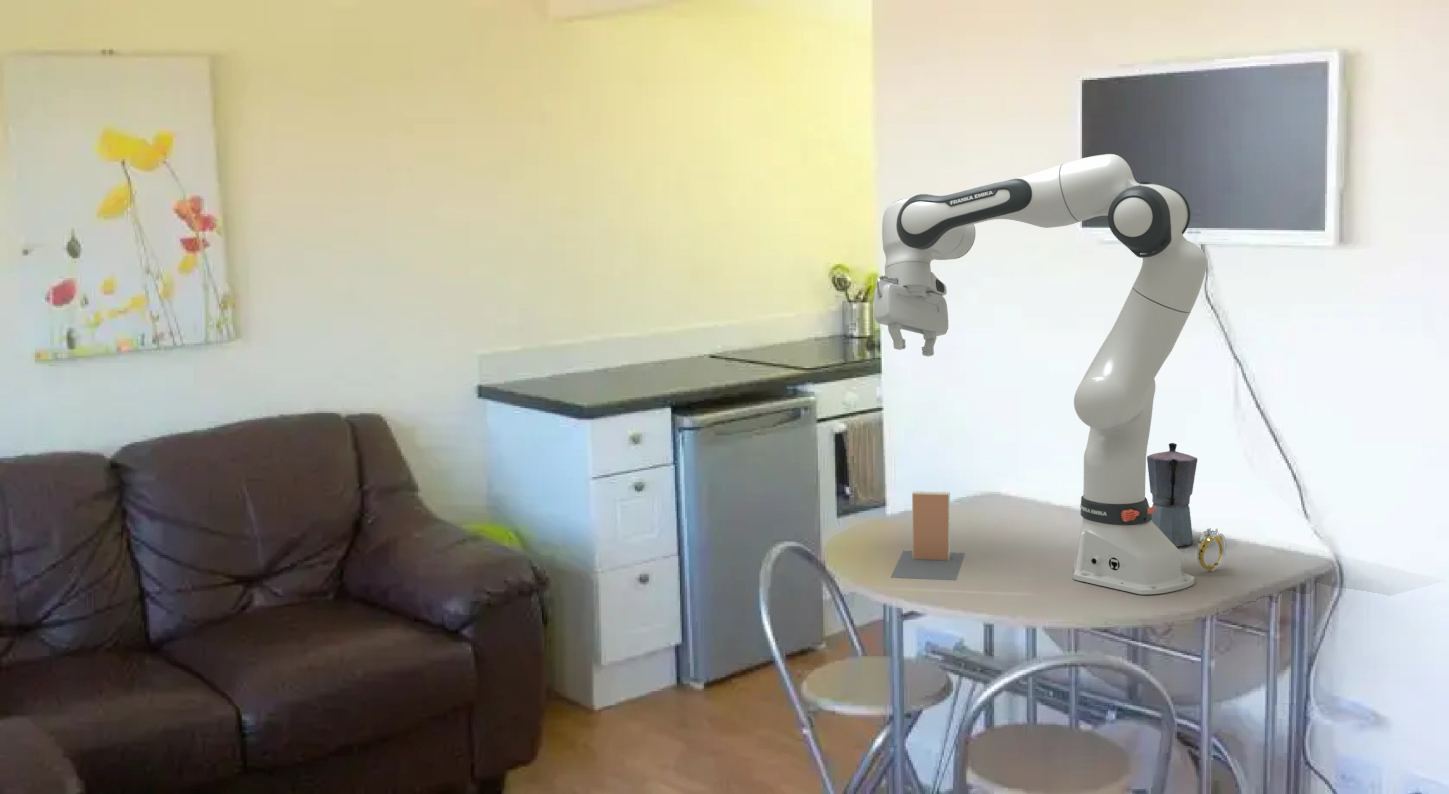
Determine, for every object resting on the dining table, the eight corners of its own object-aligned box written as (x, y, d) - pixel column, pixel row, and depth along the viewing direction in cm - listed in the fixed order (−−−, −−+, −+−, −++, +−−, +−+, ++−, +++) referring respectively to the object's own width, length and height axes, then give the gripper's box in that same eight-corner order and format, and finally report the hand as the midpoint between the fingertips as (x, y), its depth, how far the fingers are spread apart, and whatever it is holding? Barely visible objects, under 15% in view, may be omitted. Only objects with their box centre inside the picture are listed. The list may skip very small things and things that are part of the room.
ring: (1204, 576, 281) (1205, 533, 280) (1191, 572, 284) (1192, 530, 282) (1231, 570, 284) (1232, 528, 283) (1218, 566, 287) (1219, 524, 286)
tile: (913, 556, 297) (913, 491, 295) (949, 558, 296) (949, 492, 293) (912, 559, 296) (912, 493, 293) (949, 560, 294) (948, 494, 292)
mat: (903, 553, 302) (903, 550, 302) (964, 555, 299) (964, 553, 299) (890, 580, 284) (890, 577, 284) (955, 582, 281) (955, 580, 281)
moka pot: (1191, 534, 311) (1193, 437, 307) (1201, 554, 296) (1203, 452, 292) (1142, 533, 312) (1144, 436, 309) (1149, 553, 297) (1151, 452, 294)
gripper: (890, 269, 287) (895, 341, 284) (951, 287, 302) (957, 356, 299) (863, 277, 291) (868, 348, 288) (924, 294, 306) (930, 362, 303)
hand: (914, 352), depth 294 cm, fingers open, 8 cm apart
